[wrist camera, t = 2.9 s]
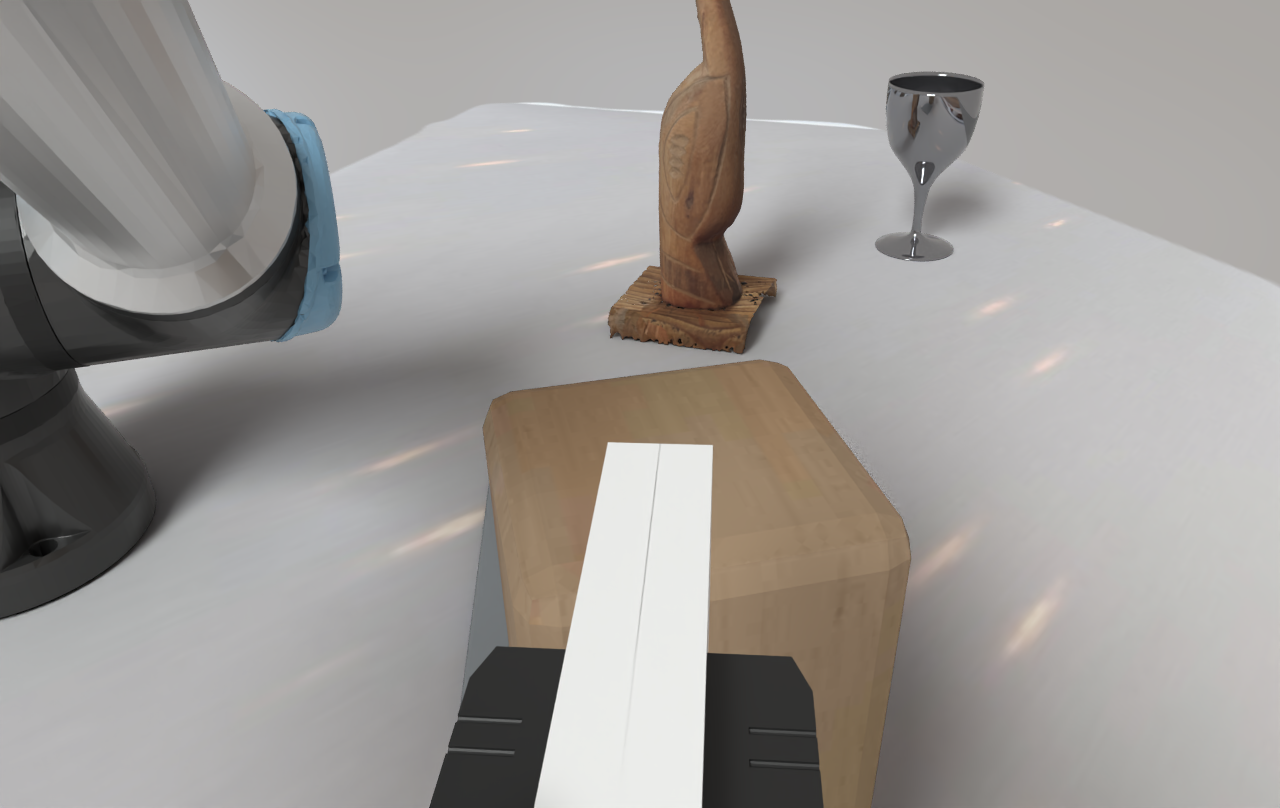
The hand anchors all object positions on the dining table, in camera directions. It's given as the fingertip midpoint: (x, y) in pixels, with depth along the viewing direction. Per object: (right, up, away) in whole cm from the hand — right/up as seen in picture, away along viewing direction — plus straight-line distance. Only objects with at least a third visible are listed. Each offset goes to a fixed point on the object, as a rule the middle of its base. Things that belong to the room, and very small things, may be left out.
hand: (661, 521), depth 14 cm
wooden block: (+1, -17, +22) cm, 28 cm away
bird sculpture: (+4, +9, +65) cm, 65 cm away
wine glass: (+25, +16, +77) cm, 82 cm away
